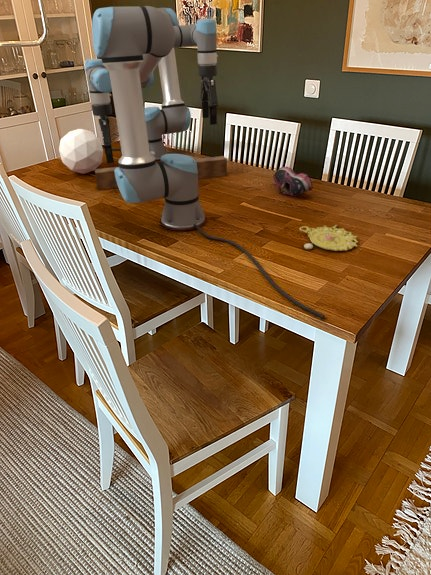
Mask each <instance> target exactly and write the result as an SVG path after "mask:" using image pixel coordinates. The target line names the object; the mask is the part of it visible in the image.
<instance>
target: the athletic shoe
mask: <svg viewBox="0 0 431 575" xmlns="http://www.w3.org/2000/svg"><path fill="white" fill-rule="evenodd" d="M272 178H273V181H274V183H270V186H273V187H277V188H278V190H279V192H282V194H284V195H287V196H292V197H296V196H299V195H301V194H305V193H308V192H310V191H313V188H314V187H313V182H312V179H311V177H310V176H309V174H306V173H304V172H299V173H296V171H295V170H294V169H293V168H292V167H289V166H282V167H279V168H278V169H277V170H275V172H274V175H273V176H272Z"/></svg>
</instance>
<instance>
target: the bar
mask: <svg viewBox="0 0 431 575" xmlns="http://www.w3.org/2000/svg"><path fill="white" fill-rule="evenodd" d="M194 159H195V160H196V163H197V171H198V180H199V179H207V178H215V177H225V176H228V159H227V158H226V157H225V155H220V156H211V157H210V156H209V157H202V158H194ZM116 168H119V166H114V167H113V166H112V167H104V168H96V169H95V170H94V173H95V174H94V175H95V180H96V186H97V190H98V191H100V190H109V189H110V190H111V189H119V188H118V185H117V182H116V178H115V172H114V170H115V169H116Z"/></svg>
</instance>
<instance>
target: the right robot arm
mask: <svg viewBox="0 0 431 575" xmlns="http://www.w3.org/2000/svg"><path fill="white" fill-rule="evenodd" d="M157 8H158V7H155V6H151V5H143V6H142V5H141V6H107V7H100V8H97V9H96V10H95V11H94V13H93V16H92V23H91V26H92V27H91V35H92V36H91V38H92V47H93V52H94V55H95V56H96V58H90V59H86V60H85V61H84V68H85V69H84V72H85V74H86V80H87V86H88V94H89V99H90V104H91V112H92V115H93V116H95V117H99V118H98V125H99V128H100V131H101V134H102V141H103V144H102V145H103V146H102V148H104V149H103V150H104V154H105V160H106V164H114V163H115V161H114V160H115V159H114V154H113V150H112V148H113V147H112V141H111V137H112V136H111V134H110V120H109V118H107V116H111V115H112V114H113V108H112V107H113V106H114V112H115V117H116V124H117V125H116V126H117V130H118V131H117V132H118V138H119V144H120V149H121V150H120V151H121V156H120V157H119V159H118V167H119V168H116V169H115V170H114V172H115V178H116V182H117V185H118V188H117V189H118V190H119V192H120V195H121V197H122V198H123V200H124V201H125V202H126V203H127V204H130V205H131V204H141V203H144V202H149V201H150V202H151V201H155V200H160V199H164V204H163V209H162V213H161V214H160V218H161V219H160V220H161V225H162V227H163V228H165V229H167V230H170V231H175V232H176V231H177V232H185V231H186V232H187V231H192V230H195V229H197V230H198V231H199V232H200V233H201V234H202V235H203V236H204V237H206V238H208V239H211V240H215V241H221V242H226V243H229V244H230V245H233V246H235V247H236V248H237V249H239V250H240V251H242V252H243V254H245V255H246V256H248V258H249V259H250V260H251V261H252V262H253V263H254V265H256V267H257V268H258V269H259V271H260V272H261V273H262V274H263V276H264V277H265V278H266V280H268V282H269V283H270V284H271V285H272V287H273V288H274V289H276V291H277V292H279V293H280V294H282V296H284V297H285V298H286V299H287V300H289V301H290V302H292V303H293V304H294V305H296V306H298V307H300V308H301V309H302V310H305V311H307V312H309V313H311V314H313V315H316V316H318V317H320V318H322V319H324V318H325V317H326V315H325V314H323V313H321V312H318V311H317V310H315V309H313V308H310V307H308V306H306V305H304V304H303V303H301V302H299V301H298V300H296V299H294V298H293V297H291V296H290V295H289V294H288V293H287V292H285V291H284V290H283V289H281V287H280V286H279V285H277V283H276V282H275V281H274V280H273V279H272V278H271V276H269V275H268V273H267V272H266V271H265V270H264V268H263V267H262V266H261V264H260V263H259V261H257V260H256V258H255V257H253V255H251V253H249V252H248V251H247V250H246V249H245V248H243V247H242V246H241V245H239V244H238V243H236V242H234V241H232V240H229V239H226V238H224V237H223V238H222V237H216V236H213V235H210V234H207V233H206V232H205V231H204V230H203V229H202V228H201V227H202V226H203V225H204V224H205V223H206V215H205V212H204V210H203V208H202V204H201V202H200V196H199V179H198V171H197V163H196V160H195V159H196V158H194V157H192V156H191V155H187V154H181V153H167V154H165V155H163V156H161V160H160V161H156V160H155V157H154V156H153V155H152V154H150V151H149V143H148V135H147V128H146V120H145V112H144V108H145V106H144V97H143V90H142V89H146V88H149V87H152V86H153V85H154V82H155V76H154V71H155V69H156V68H157V66H158V63H159V62H160V60H161V59H162V57H165V56H167V55H168V54H169V53H170V51H171V50H172V48H173V46H174V44H175V29H174V26H173V24H172V22H171V20H170V19H169V18H168V17H167V15H166V14H164V13H163V12H162V11H161V10H159V9H157ZM111 92H112V94H111ZM111 97H112V99H113V106H112V104H111Z"/></svg>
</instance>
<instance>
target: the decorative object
mask: <svg viewBox="0 0 431 575" xmlns="http://www.w3.org/2000/svg"><path fill="white" fill-rule="evenodd" d="M303 228H304V229H305V230H304V229H303ZM299 231H300V232H303V233H305V234H307V237H308V238H309V240H310V241H311V243H304V244H303V248H304V249H305V250H313V249H314V245H315V246H316V247H318V248H321V249H324V250H328V251H335V252H341V251H348V250H352V249H354V247H356V248H358V247H359V245H358V244H357V243H359V240H357V238H359V237H358V235H353V234H352V231H347V230H346V229H345V228H344V227H342V228H338V224H335V225H333V226H331V227H328V226H327V225H326V224H325V225H323V226H322V227H321V226H317V227H316V228H314V227H309V226H308V225H302V226H300V227H299ZM313 244H314V245H313Z"/></svg>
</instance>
